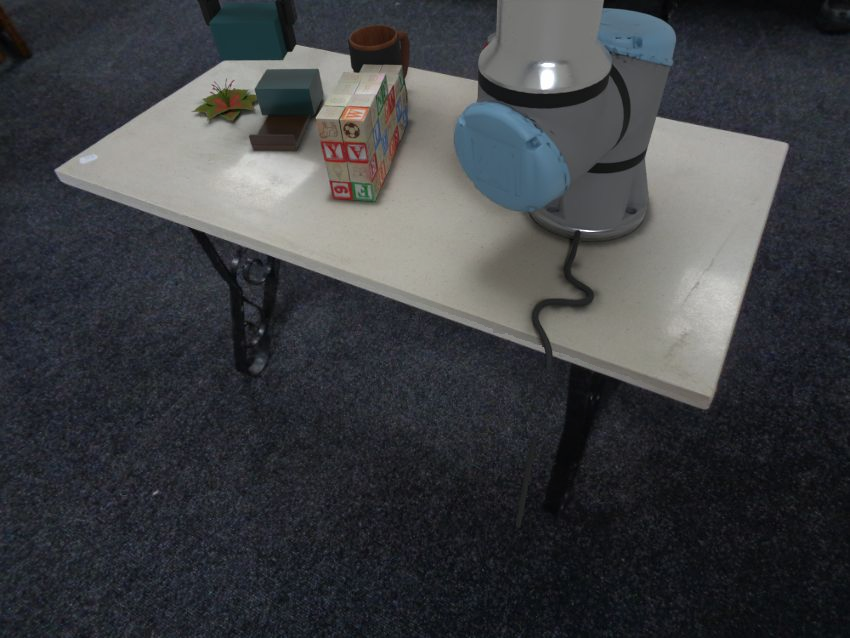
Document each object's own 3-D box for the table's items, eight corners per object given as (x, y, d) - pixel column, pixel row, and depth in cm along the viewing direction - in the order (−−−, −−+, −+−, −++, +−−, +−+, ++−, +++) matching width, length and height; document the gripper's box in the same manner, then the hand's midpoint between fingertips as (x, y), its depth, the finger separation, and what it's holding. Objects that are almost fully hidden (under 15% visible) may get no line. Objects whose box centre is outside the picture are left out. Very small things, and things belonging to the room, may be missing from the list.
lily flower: (224, 86, 102) (215, 61, 98) (277, 97, 98) (270, 71, 95) (179, 118, 95) (168, 92, 92) (235, 131, 91) (226, 104, 88)
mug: (431, 93, 95) (426, 22, 86) (384, 126, 89) (375, 54, 80) (393, 80, 99) (385, 10, 90) (346, 111, 93) (333, 40, 84)
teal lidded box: (302, 151, 86) (294, 117, 82) (247, 150, 87) (236, 118, 83) (326, 97, 97) (320, 65, 93) (276, 97, 98) (268, 66, 94)
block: (283, 60, 77) (273, 22, 73) (220, 60, 78) (208, 23, 74) (295, 38, 81) (287, 1, 78) (236, 39, 82) (226, 2, 79)
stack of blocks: (371, 120, 91) (360, 42, 82) (408, 122, 90) (402, 43, 81) (332, 199, 77) (314, 116, 68) (375, 202, 76) (363, 119, 67)
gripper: (305, -168, 64) (338, 36, 81) (127, -159, 66) (196, 37, 83) (288, -155, 59) (327, 59, 76) (97, -146, 61) (176, 60, 78)
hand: (258, 48), depth 79 cm, fingers closed on block, 9 cm apart
